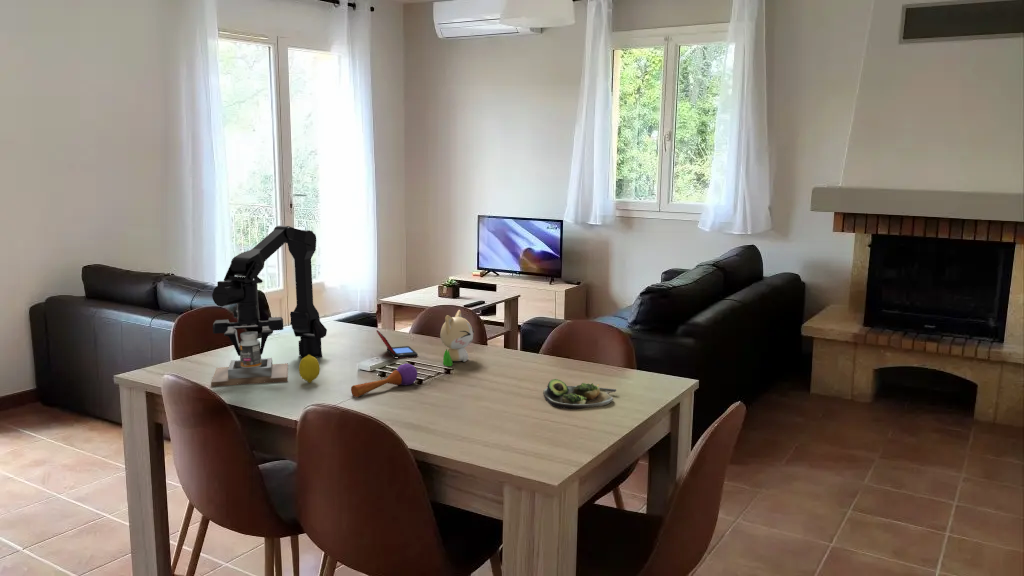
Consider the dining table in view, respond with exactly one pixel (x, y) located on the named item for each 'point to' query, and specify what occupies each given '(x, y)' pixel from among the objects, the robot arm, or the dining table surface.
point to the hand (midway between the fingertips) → (250, 354)
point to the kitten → (456, 338)
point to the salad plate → (576, 395)
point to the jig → (250, 373)
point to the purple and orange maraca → (388, 380)
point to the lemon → (309, 368)
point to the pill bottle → (250, 350)
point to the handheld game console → (398, 349)
